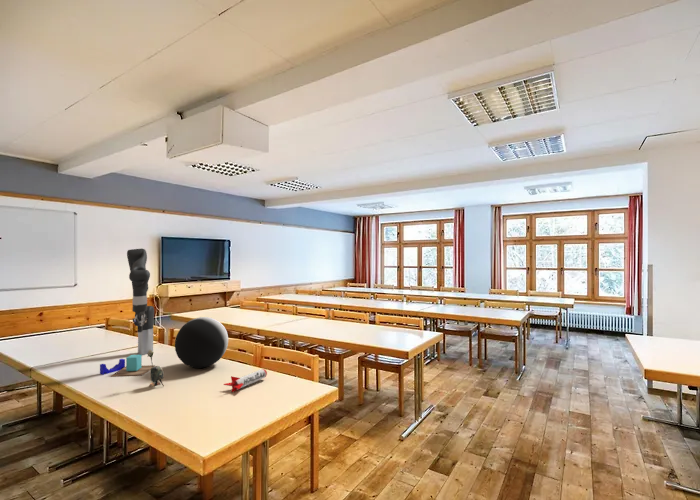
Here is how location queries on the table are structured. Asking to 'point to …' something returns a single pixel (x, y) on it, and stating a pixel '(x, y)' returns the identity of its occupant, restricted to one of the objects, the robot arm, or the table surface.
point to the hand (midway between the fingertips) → (140, 331)
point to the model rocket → (246, 379)
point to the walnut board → (133, 373)
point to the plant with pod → (155, 372)
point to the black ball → (201, 342)
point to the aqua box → (133, 362)
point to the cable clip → (116, 368)
